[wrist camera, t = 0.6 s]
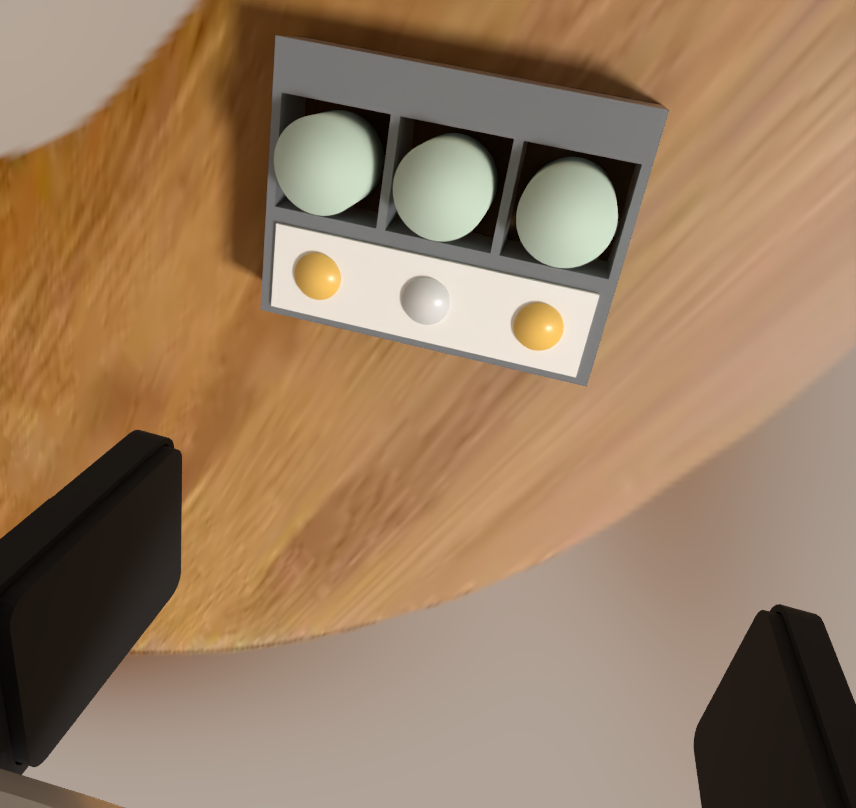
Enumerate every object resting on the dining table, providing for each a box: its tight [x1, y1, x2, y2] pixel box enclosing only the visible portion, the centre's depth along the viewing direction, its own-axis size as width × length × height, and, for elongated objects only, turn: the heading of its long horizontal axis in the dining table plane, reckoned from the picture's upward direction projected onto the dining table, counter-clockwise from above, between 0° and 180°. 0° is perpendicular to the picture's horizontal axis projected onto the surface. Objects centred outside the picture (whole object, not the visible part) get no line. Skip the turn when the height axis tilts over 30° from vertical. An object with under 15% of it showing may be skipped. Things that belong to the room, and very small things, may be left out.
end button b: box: [516, 157, 618, 268], centre depth 30 cm, size 4×4×3 cm
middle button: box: [393, 133, 498, 241], centre depth 30 cm, size 4×4×3 cm
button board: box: [261, 35, 669, 387], centre depth 32 cm, size 12×16×3 cm
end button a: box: [274, 110, 385, 216], centre depth 31 cm, size 4×4×3 cm
